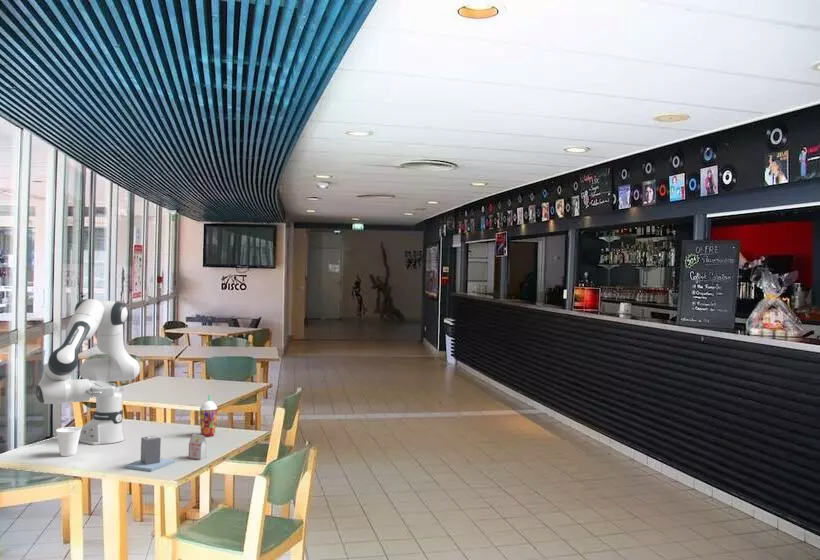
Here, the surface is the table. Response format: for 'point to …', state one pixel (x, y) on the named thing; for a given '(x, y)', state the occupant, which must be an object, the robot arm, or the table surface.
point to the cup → (68, 440)
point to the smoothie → (208, 418)
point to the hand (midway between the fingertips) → (119, 387)
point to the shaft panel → (149, 465)
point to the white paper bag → (197, 447)
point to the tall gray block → (150, 450)
